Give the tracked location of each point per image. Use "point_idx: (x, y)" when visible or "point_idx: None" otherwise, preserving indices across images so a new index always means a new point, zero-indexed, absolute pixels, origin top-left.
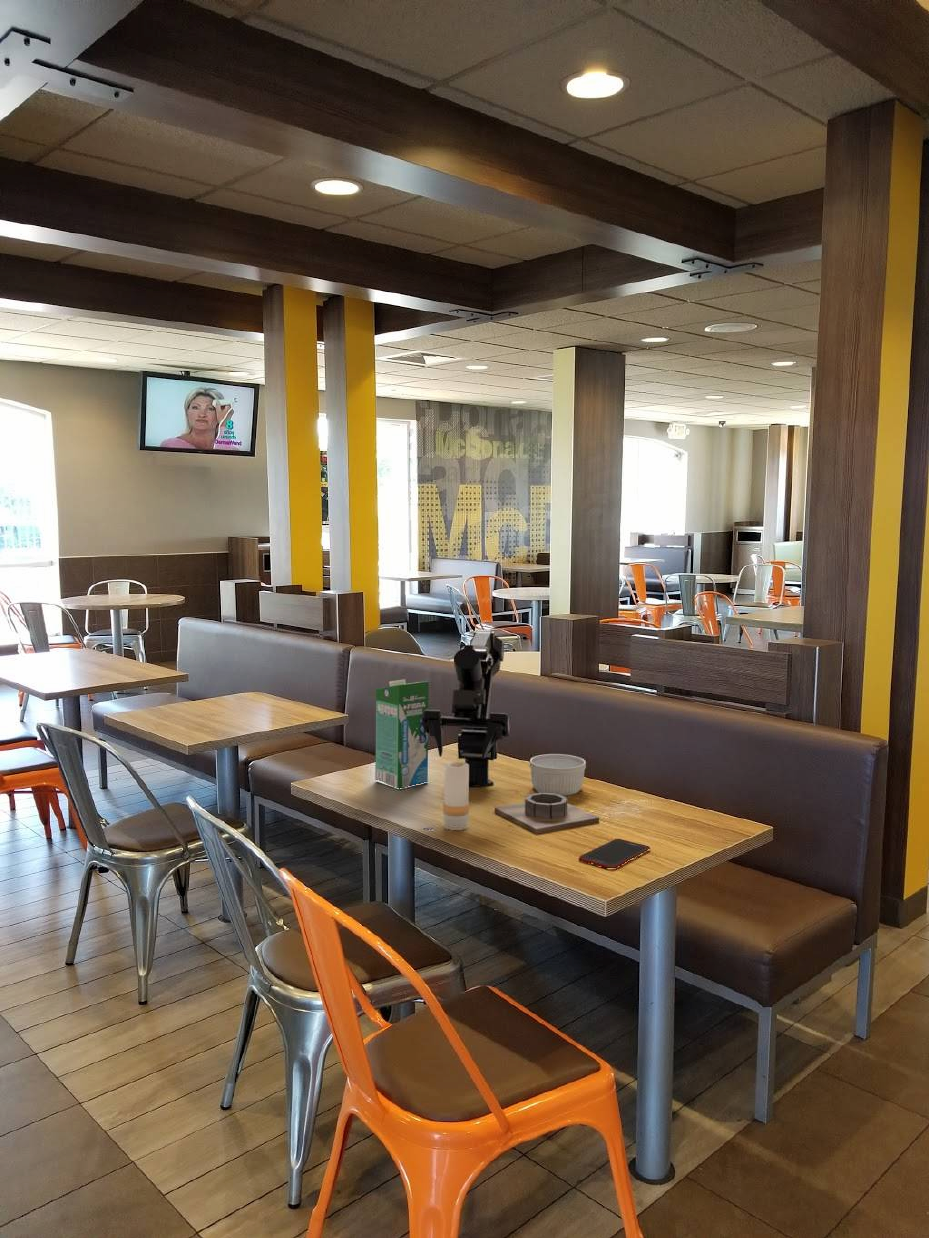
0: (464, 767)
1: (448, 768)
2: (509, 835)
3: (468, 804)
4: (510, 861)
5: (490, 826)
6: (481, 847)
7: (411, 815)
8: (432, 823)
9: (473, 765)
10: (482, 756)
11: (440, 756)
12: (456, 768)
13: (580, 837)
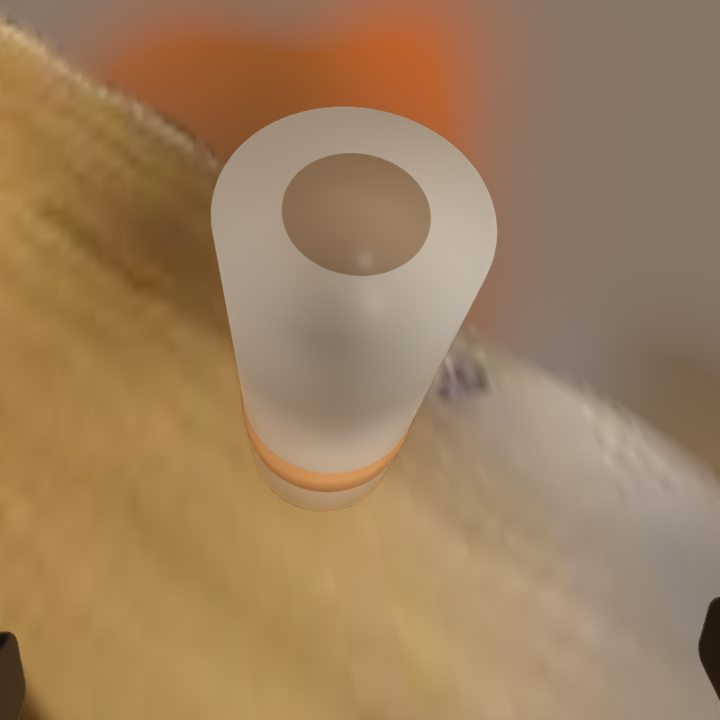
0: (252, 140)
1: (421, 136)
2: (5, 358)
3: (241, 390)
4: (27, 71)
5: (116, 487)
6: (156, 188)
7: (633, 592)
8: (465, 469)
9: None
10: (8, 632)
11: (707, 646)
12: (333, 107)
13: None
